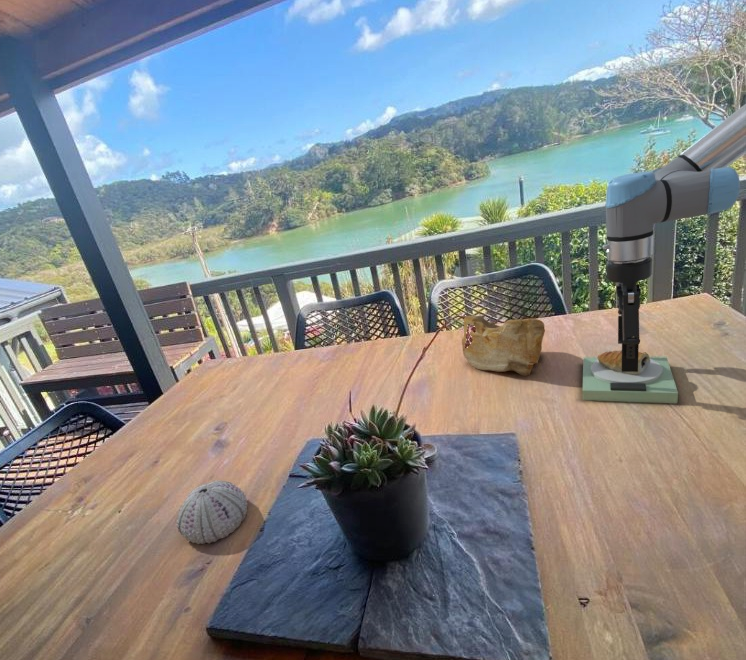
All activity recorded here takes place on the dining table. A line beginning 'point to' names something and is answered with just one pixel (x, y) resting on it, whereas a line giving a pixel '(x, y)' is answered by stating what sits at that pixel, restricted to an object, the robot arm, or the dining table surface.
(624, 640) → the dining table surface
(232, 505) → the sea urchin shell
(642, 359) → the pastry
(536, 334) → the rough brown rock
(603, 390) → the scale
